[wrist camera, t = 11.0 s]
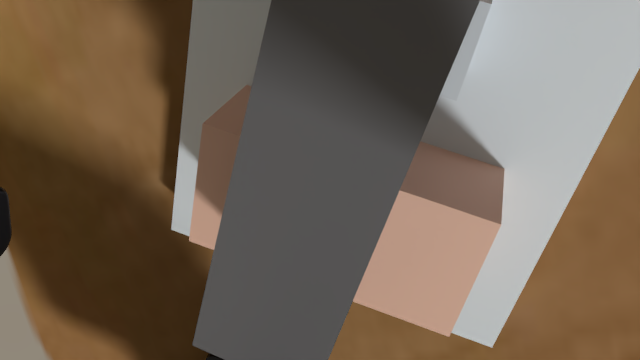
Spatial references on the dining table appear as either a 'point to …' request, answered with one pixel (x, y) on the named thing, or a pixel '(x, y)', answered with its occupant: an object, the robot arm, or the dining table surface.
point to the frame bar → (321, 167)
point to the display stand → (441, 150)
